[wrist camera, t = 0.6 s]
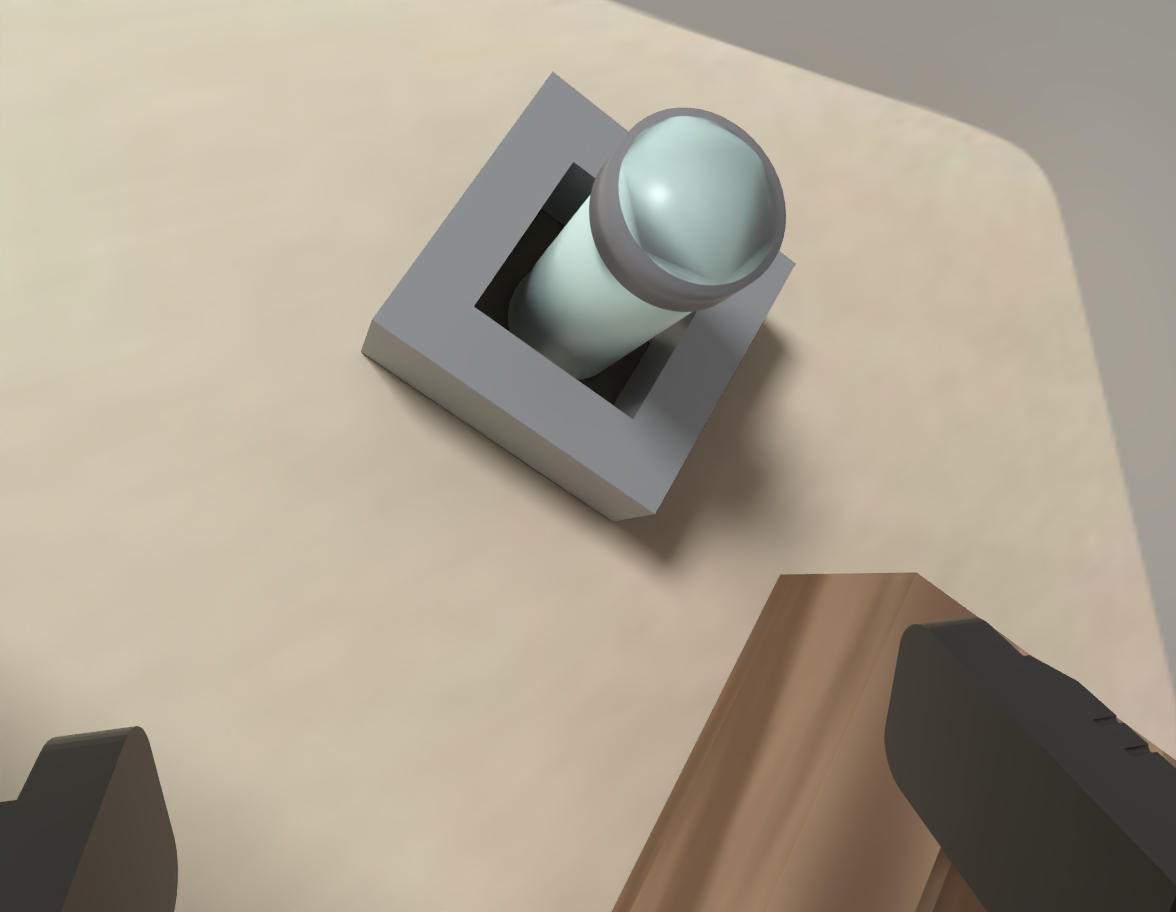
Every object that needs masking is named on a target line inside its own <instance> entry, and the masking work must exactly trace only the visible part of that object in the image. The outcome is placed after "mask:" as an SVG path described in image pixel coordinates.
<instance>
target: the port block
mask: <svg viewBox="0 0 1176 912" xmlns="http://www.w3.org/2000/svg"><path fill="white" fill-rule="evenodd" d="M964 617H977V616H976V615H974V614H973V613H972V612H970V611H969V610H967V609H966V608H965V607H963V606H962V605H961V604H959V603H958V602H956V601H955V600H954V599H952V598H951V597H949V596H948V595H947V594H945V593H944V592H943V591H941V590H940V589H938V588H937V587H936V586H934V585H933V584H932V583H930V582H929V581H927V580H926V579H925V578H923V577H922V576H920V575H919V574H918V573H859V574H793V575H780V577H779V579H778V581H777V583H776V585H775V587H774V589H773V591H772V593H771V595H770V597H769V599H768V601H767V603H766V605H765V607H764V609H763V611H762V613H761V615H760V617H759V619H758V621H757V623H756V625H755V627H754V629H753V631H752V633H751V635H750V637H749V639H748V641H747V643H746V645H745V647H744V649H743V651H742V653H741V655H740V657H739V659H738V661H737V663H736V665H735V667H734V669H733V671H732V673H731V675H730V677H729V679H728V681H727V683H726V685H725V687H724V689H723V691H722V693H721V695H720V697H719V699H718V701H717V703H716V705H715V707H714V709H713V711H712V713H711V715H710V717H709V719H708V721H707V723H706V725H705V727H704V729H703V731H702V733H701V735H700V737H699V739H698V741H697V743H696V745H695V747H694V749H693V751H692V753H691V755H690V757H689V759H688V761H687V763H686V765H685V767H684V769H683V771H682V773H681V775H680V777H679V779H678V781H677V783H676V785H675V787H674V789H673V791H672V793H671V795H670V797H669V799H668V801H667V803H666V805H665V807H664V809H663V811H662V813H661V815H660V817H659V819H658V821H657V823H656V825H655V827H654V829H653V831H652V833H651V835H650V837H649V839H648V841H647V843H646V845H645V847H644V849H643V851H642V853H641V855H640V857H639V859H638V861H637V863H636V865H635V867H634V869H633V871H632V873H631V875H630V877H629V879H628V881H627V883H626V885H625V887H624V889H623V891H622V893H621V895H620V897H619V899H618V901H617V903H616V905H615V907H614V909H613V911H612V912H987V911H986V910H985V908H984V907H983V905H982V904H981V903H980V901H979V900H978V898H977V897H976V896H975V894H974V893H973V891H972V890H971V889H970V887H969V886H968V884H967V883H966V882H965V880H964V879H963V877H962V876H961V875H960V873H959V872H958V870H957V869H956V868H955V866H954V865H953V863H952V862H951V860H950V859H949V858H948V856H947V855H946V853H945V852H944V851H943V849H942V848H941V846H940V845H939V844H938V842H937V841H936V839H935V838H934V837H933V835H932V834H931V832H930V831H929V830H928V828H927V827H926V825H925V824H924V823H923V821H922V820H921V818H920V817H919V816H918V814H917V813H916V811H915V810H914V809H913V807H912V806H911V804H910V803H909V802H908V800H907V799H906V797H905V796H904V795H903V793H902V792H901V790H900V789H899V787H898V786H897V784H896V782H895V780H894V778H893V775H892V773H891V770H890V767H889V764H888V761H887V757H886V751H885V743H884V732H885V725H886V719H887V714H888V708H889V702H890V697H891V691H892V685H893V679H894V674H895V668H896V662H897V657H898V651H899V645H900V641H901V637H902V635H903V633H904V631H905V630H906V628H908V627H909V626H910V625H913V624H920V623H927V622H935V621H942V620H949V619H957V618H964ZM997 632H998V631H997ZM998 633H999V632H998ZM999 634H1000V635H1001V636H1002V637H1004V638H1005V639H1006V640H1007V641H1008V642H1009V643H1010V644H1011V645H1012V646H1013V647H1014V648H1015V649H1016V650H1018V651H1019V652H1020V653H1021V654H1022V655H1023V656H1026V655H1030V654H1028V653H1027V652H1025V651H1024V650H1023V649H1021V648H1020V647H1019V646H1017V645H1016V644H1014V643H1013V642H1012V641H1010V640H1009V639H1007V638H1006V637H1005V636H1003V635H1002V634H1001V633H999ZM1030 656H1031V655H1030ZM1116 719H1117V721H1118V723H1123V722H1122V721H1121V720H1119V719H1118V718H1117V717H1116ZM1131 729H1132V728H1131ZM1132 730H1133V729H1132ZM1133 731H1134V732H1135V733H1137V732H1136V731H1135V730H1133ZM1137 734H1138V735H1139V736H1140V737H1141V738H1142V739H1143V740H1144V741H1146V742H1147V743H1148V744H1149V745H1148V747H1149V750H1150V751H1151V752H1158V753H1159V754H1160V755H1161V756H1162V757H1164V758H1165V759H1166V760H1167V761H1168V762H1169V763H1170V764H1171V765H1173V766H1174V767H1175V768H1176V760H1175V759H1173V758H1172V757H1170V756H1169V755H1168V754H1166V753H1165V752H1164V751H1162V750H1161V749H1159V748H1158V747H1157V746H1155V745H1154V744H1152V743H1151V742H1150V741H1148V740H1147V739H1146V738H1144V737H1143V736H1141V735H1140V734H1139V733H1137Z"/></svg>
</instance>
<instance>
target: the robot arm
mask: <svg viewBox="0 0 1176 912" xmlns="http://www.w3.org/2000/svg"><path fill="white" fill-rule="evenodd" d="M884 743H885V751H886V757H887V761H888V764H889V767H890V770H891V773H892V775H893V778H894V780H895V782H896V784H897V786H898V787H899V789H900V790H901V792H902V793H903V795H904V796H905V797H906V799H907V800H908V802H909V803H910V804H911V806H912V807H913V809H914V810H915V811H916V813H917V814H918V816H919V817H920V818H921V820H922V821H923V823H924V824H925V825H926V827H927V828H928V830H929V831H930V832H931V834H932V835H933V837H934V838H935V839H936V841H937V842H938V844H939V845H940V846H941V848H942V849H943V851H944V852H945V853H946V855H947V856H948V858H949V859H950V860H951V862H952V863H953V865H954V866H955V868H956V869H957V870H958V872H959V873H960V875H961V876H962V877H963V879H964V880H965V882H966V883H967V884H968V886H969V887H970V889H971V890H972V891H973V893H974V894H975V896H976V897H977V898H978V900H979V901H980V903H981V904H982V905H983V907H984V908H985V910H986V911H987V912H1176V768H1175V767H1174V766H1173V765H1171V764H1170V763H1169V762H1168V761H1167V760H1166V759H1165V758H1164V757H1162V756H1161V755H1160V754H1159V753H1158V752H1151V751H1150V750H1149V747H1148V745H1149V744H1148V743H1147V742H1146V741H1144V740H1143V739H1142V738H1141V737H1140V736H1139V735H1138V734H1137V733H1135V732H1134V731H1133V730H1132V729H1131V728H1130V727H1129V726H1128V725H1126V724H1125V723H1118V721H1117V719H1116V715H1115V714H1114V713H1113V712H1112V711H1111V710H1110V709H1108V708H1107V707H1106V706H1105V705H1104V704H1103V703H1102V702H1101V701H1099V700H1098V699H1097V698H1096V697H1095V696H1094V695H1093V694H1092V693H1090V692H1089V691H1088V690H1087V689H1086V688H1085V687H1084V686H1083V685H1081V684H1080V683H1079V682H1078V681H1076V680H1074V679H1073V678H1071V677H1069V676H1067V675H1065V674H1063V673H1062V672H1060V671H1058V670H1056V669H1054V668H1052V667H1050V666H1049V665H1047V664H1045V663H1043V662H1041V661H1039V660H1038V659H1036V658H1034V657H1032V656H1030V655H1026V656H1023V655H1022V654H1021V653H1020V652H1019V651H1018V650H1016V649H1015V648H1014V647H1013V646H1012V645H1011V644H1010V643H1009V642H1008V641H1007V640H1006V639H1005V638H1004V637H1002V636H1001V635H1000V634H999V633H998V632H997V631H996V630H995V629H994V628H993V627H992V626H991V625H989V624H988V623H987V622H986V621H984V620H982V619H980V618H978V617H964V618H957V619H949V620H942V621H935V622H927V623H920V624H913V625H910V626H909V627H908V628H906V630H905V631H904V633H903V635H902V637H901V641H900V645H899V651H898V657H897V662H896V668H895V674H894V679H893V685H892V691H891V697H890V702H889V708H888V714H887V719H886V725H885V732H884ZM177 883H178V861H177V851H176V844H175V839H174V835H173V831H172V827H171V824H170V820H169V816H168V812H167V808H166V804H165V801H164V797H163V793H162V789H161V785H160V781H159V778H158V774H157V770H156V766H155V762H154V758H153V754H152V751H151V747H150V743H149V740H148V737H147V735H146V733H145V732H144V730H143V729H142V728H141V727H138V726H135V727H128V728H120V729H113V730H105V731H98V732H90V733H83V734H75V735H68V736H60V737H55V738H52V739H50V740H49V741H48V742H47V743H46V744H45V745H44V747H43V749H42V750H41V752H40V754H39V756H38V758H37V760H36V762H35V764H34V766H33V768H32V770H31V773H30V775H29V777H28V779H27V781H26V783H25V785H24V787H23V789H22V791H21V793H20V795H19V797H18V799H17V800H13V801H6V802H0V912H174V909H175V903H176V896H177Z"/></svg>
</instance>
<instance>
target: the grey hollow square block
mask: <svg viewBox="0 0 1176 912" xmlns="http://www.w3.org/2000/svg"><path fill="white" fill-rule="evenodd" d="M627 134H628V131H627V130H626V129H624V128H623V127H622V126H621V125H619V124H618V123H617V122H616V121H614V120H613V119H612V118H611V117H609V116H608V115H607V114H606V113H604V112H603V111H602V110H600V109H599V108H598V107H597V106H595V105H594V104H593V103H592V102H590V101H589V100H588V99H587V98H585V97H584V96H583V95H581V94H580V93H579V92H578V91H576V90H575V89H574V88H573V87H571V86H570V85H569V84H568V83H566V82H565V81H564V80H563V79H561V78H560V77H559V76H557V75H556V74H555V73H554V72H552V73H551V75H550V76H549V77H548V79H547V80H546V82H545V83H544V84H543V86H542V87H541V88H540V90H539V91H538V93H537V94H536V95H535V97H534V98H533V99H532V101H531V102H530V104H529V105H528V106H527V108H526V109H525V110H524V112H523V113H522V115H521V116H520V117H519V119H518V120H517V121H516V123H515V124H514V126H513V127H512V128H511V130H510V131H509V132H508V134H507V135H506V137H505V138H504V139H503V141H502V142H501V143H500V145H499V146H498V148H497V149H496V150H495V152H494V153H493V154H492V156H491V157H490V159H489V160H488V161H487V163H486V164H485V165H484V167H483V168H482V169H481V171H480V172H479V174H478V175H477V176H476V178H475V179H474V180H473V182H472V183H471V185H470V186H469V187H468V189H467V190H466V191H465V193H464V194H463V196H462V197H461V198H460V200H459V201H458V202H457V204H456V205H455V207H454V208H453V209H452V211H451V212H450V213H449V215H448V216H447V218H446V219H445V220H444V222H443V223H442V224H441V226H440V227H439V229H438V230H437V231H436V233H435V234H434V235H433V237H432V238H431V240H430V241H429V242H428V244H427V245H426V246H425V248H424V249H423V251H422V252H421V253H420V255H419V256H418V257H417V259H416V260H415V262H414V263H413V264H412V266H411V267H410V268H409V270H408V271H407V273H406V274H405V275H404V277H403V278H402V279H401V281H400V282H399V284H398V285H397V286H396V288H395V289H394V290H393V292H392V293H391V295H390V296H389V297H388V299H387V300H386V301H385V303H384V304H383V306H382V307H381V308H380V310H379V311H378V312H377V314H376V315H375V317H374V318H373V319H372V322H371V324H370V327H369V330H368V333H367V336H366V339H365V342H364V344H363V347H362V350H361V352H362V353H363V354H365V355H366V356H368V357H369V358H371V359H372V360H374V361H375V362H377V363H378V364H380V365H381V366H383V367H384V368H386V369H387V370H389V371H390V372H391V373H393V374H394V375H396V376H397V377H399V378H400V379H402V380H403V381H405V382H406V383H408V384H409V385H411V386H412V387H414V388H415V389H417V390H418V391H420V392H421V393H423V394H424V395H426V396H427V397H428V398H430V399H431V400H433V401H434V402H436V403H437V404H439V405H440V406H442V407H443V408H445V409H446V410H448V411H449V412H451V413H452V414H454V415H455V416H457V417H458V418H460V419H461V420H463V421H464V422H465V423H467V424H468V425H470V426H471V427H473V428H474V429H476V430H477V431H479V432H480V433H482V434H483V435H485V436H486V437H488V438H489V439H491V440H492V441H494V442H495V443H497V444H498V445H500V446H501V447H502V448H504V449H505V450H507V451H508V452H510V453H511V454H513V455H514V456H516V457H517V458H519V459H520V460H522V461H523V462H525V463H526V464H528V465H529V466H531V467H532V468H534V469H535V470H537V471H538V472H539V473H541V474H542V475H544V476H545V477H547V478H548V479H550V480H551V481H553V482H554V483H556V484H557V485H559V486H560V487H562V488H563V489H565V490H566V491H568V492H569V493H571V494H572V495H574V496H575V497H577V498H578V499H579V500H581V501H582V502H584V503H585V504H587V505H588V506H590V507H591V508H593V509H594V510H596V511H597V512H599V513H600V514H602V515H603V516H605V517H606V518H608V519H609V520H611V521H612V522H614V521H620V520H625V519H631V518H636V517H642V516H647V515H653V514H655V513H656V512H657V510H658V508H659V506H660V504H661V503H662V501H663V499H664V497H665V496H666V494H667V492H668V490H669V488H670V487H671V485H672V483H673V481H674V479H675V478H676V476H677V474H678V472H679V471H680V469H681V467H682V465H683V463H684V462H685V460H686V458H687V456H688V455H689V453H690V451H691V449H692V447H693V446H694V444H695V442H696V440H697V438H698V437H699V435H700V433H701V431H702V430H703V428H704V426H705V424H706V422H707V421H708V419H709V417H710V415H711V414H712V412H713V410H714V408H715V406H716V405H717V403H718V401H719V399H720V397H721V396H722V394H723V392H724V390H725V389H726V387H727V385H728V383H729V381H730V380H731V378H732V376H733V374H734V373H735V371H736V369H737V367H738V365H739V364H740V362H741V360H742V358H743V356H744V355H745V353H746V351H747V349H748V348H749V346H750V344H751V342H752V340H753V339H754V337H755V335H756V333H757V332H758V330H759V328H760V326H761V324H762V323H763V321H764V319H765V317H766V315H767V314H768V312H769V310H770V308H771V307H772V305H773V303H774V301H775V299H776V298H777V296H778V294H779V292H780V291H781V289H782V287H783V285H784V283H785V282H786V280H787V278H788V276H789V274H790V273H791V271H792V269H793V267H794V266H795V263H794V262H793V261H791V260H790V259H789V258H788V257H786V256H785V255H784V254H783V253H781V252H780V251H779V252H778V254H777V256H776V258H775V259H774V261H773V262H772V264H771V265H770V267H769V268H768V269H767V270H766V271H765V272H764V274H763V275H762V276H760V277H759V278H758V279H757V280H755V281H754V282H753V283H751V284H749V285H748V286H746V287H745V288H743V289H742V290H740V291H738V292H737V293H735V294H734V295H732V296H731V297H729V298H727V299H726V300H724V301H723V302H721V303H719V304H717V305H715V306H713V307H710V308H708V309H704V310H700V311H694V312H691V313H690V314H688V315H687V316H685V317H684V318H682V319H681V320H679V321H677V322H676V323H674V324H673V325H671V326H670V327H668V328H667V329H665V330H664V331H662V332H661V333H659V334H658V335H656V336H655V337H654V338H653V340H652V342H651V343H650V345H649V346H648V348H647V350H646V351H645V353H644V355H643V356H642V358H641V360H640V361H639V363H638V365H637V366H636V368H635V370H634V371H633V373H632V375H631V376H630V378H629V380H628V381H627V383H626V385H625V386H624V388H623V390H622V391H621V393H620V395H619V396H618V398H617V400H616V401H615V403H614V405H612V404H611V403H609V402H608V401H606V400H605V399H604V398H602V397H601V396H599V395H598V394H596V393H595V392H594V391H592V390H591V389H589V388H588V387H587V386H585V385H584V384H582V383H581V382H580V381H578V380H577V379H575V378H574V377H572V376H571V375H570V374H568V373H567V372H565V371H564V370H563V369H561V368H560V367H558V366H557V365H556V364H554V363H553V362H551V361H550V360H549V359H547V358H546V357H544V356H543V355H541V354H540V353H539V352H537V351H536V350H534V349H533V348H532V347H530V346H529V345H527V344H526V343H525V342H523V341H522V340H520V339H519V338H517V337H516V336H515V335H513V334H512V333H510V332H509V331H508V330H506V329H505V328H503V327H502V326H501V325H499V324H498V323H496V322H495V321H494V320H492V319H491V318H489V317H488V316H486V315H485V314H484V313H482V312H481V311H479V310H478V309H477V308H475V307H474V305H475V304H476V302H477V301H478V299H479V298H480V297H481V295H482V294H483V292H484V291H485V289H486V288H487V286H488V285H489V283H490V282H491V281H492V279H493V278H494V276H495V275H496V273H497V272H498V270H499V269H500V267H501V266H502V265H503V263H504V262H505V260H506V259H507V257H508V256H509V254H510V253H511V252H512V250H513V249H514V247H515V246H516V244H517V243H518V241H519V240H520V238H521V237H522V236H523V234H524V233H525V231H526V230H527V228H528V227H529V225H530V224H531V222H532V221H533V220H534V218H535V217H536V215H537V214H538V212H539V211H540V209H543V210H544V211H545V212H547V213H548V214H549V215H551V216H552V217H553V218H555V219H556V220H557V221H559V222H560V223H561V224H563V225H564V226H566V225H567V223H568V222H569V221H570V220H571V218H572V217H573V216H574V215H575V213H576V212H577V211H578V210H579V208H580V207H581V206H582V205H583V203H584V202H585V201H586V200H587V198H588V197H589V196H590V195H591V191H592V186H593V184H594V181H595V179H596V176H597V174H598V173H599V171H600V169H601V167H602V166H603V165H604V163H605V162H606V161H607V159H608V158H609V157H610V155H611V154H612V153H613V152H614V150H615V149H616V148H617V146H618V145H619V144H620V142H621V141H622V140H623V139H624V137H625V136H626V135H627Z"/></svg>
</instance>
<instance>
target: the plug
mask: <svg viewBox="0 0 1176 912" xmlns="http://www.w3.org/2000/svg"><path fill="white" fill-rule="evenodd" d="M785 224H786V209H785V200H784V195H783V191H782V187H781V184H780V181H779V178H778V176H777V174H776V171H775V169H774V167H773V165H772V164H771V162H770V160H769V158H768V157H767V156H766V154H765V153H764V151H763V150H762V148H761V147H760V146H759V145H758V144H757V143H756V142H755V140H754V139H753V138H752V137H750V136H749V135H748V134H747V133H746V132H745V131H744V130H743V129H741V128H740V127H738V126H737V125H736V124H734V123H733V122H731V121H729V120H727V119H726V118H724V117H722V116H719V115H717V114H714V113H712V112H708V111H705V110H701V109H695V108H672V109H666V110H663V111H659V112H656V113H654V114H652V115H650V116H648V117H646V118H645V119H643V120H642V121H640V122H639V123H637V124H636V125H635V126H634V127H633V128H632V129H631V130H630V131H629V132H628V134H627V135H626V136H625V137H624V139H623V140H622V141H621V142H620V144H619V145H618V146H617V148H616V149H615V150H614V152H613V153H612V154H611V155H610V157H609V158H608V159H607V161H606V162H605V163H604V165H603V166H602V167H601V169H600V171H599V173H598V174H597V176H596V179H595V181H594V184H593V186H592V191H591V195H590V196H589V197H588V198H587V200H586V201H585V202H584V203H583V205H582V206H581V207H580V208H579V210H578V211H577V212H576V213H575V215H574V216H573V217H572V218H571V220H570V221H569V222H568V223H567V225H566V226H565V227H564V228H563V230H562V231H561V232H560V233H559V235H558V236H557V237H556V238H555V240H554V241H553V242H552V243H551V245H550V246H549V247H548V248H547V250H546V251H545V252H544V253H543V255H542V256H541V257H540V258H539V260H538V261H537V262H536V264H535V265H534V266H533V267H532V269H531V270H530V271H529V272H528V274H527V275H526V276H525V277H524V279H523V280H522V281H521V282H520V284H519V285H518V286H517V288H516V290H515V291H514V293H513V296H512V298H511V301H510V305H509V312H508V323H509V330H510V333H512V334H513V335H515V336H516V337H517V338H519V339H520V340H522V341H523V342H525V343H526V344H527V345H529V346H530V347H532V348H533V349H534V350H536V351H537V352H539V353H540V354H541V355H543V356H544V357H546V358H547V359H549V360H550V361H551V362H553V363H554V364H556V365H557V366H558V367H560V368H561V369H563V370H564V371H565V372H567V373H568V374H570V375H571V376H572V377H574V378H575V379H577V380H578V381H580V380H584V379H588V378H590V377H593V376H595V375H597V374H598V373H600V372H602V371H603V370H605V369H606V368H608V367H609V366H611V365H612V364H614V363H615V362H617V361H618V360H620V359H621V358H623V357H624V356H626V355H627V354H629V353H630V352H632V351H633V350H635V349H636V348H638V347H640V346H641V345H643V344H644V343H646V342H647V341H649V340H650V339H652V338H653V337H655V336H656V335H658V334H659V333H661V332H662V331H664V330H665V329H667V328H668V327H670V326H671V325H673V324H674V323H676V322H677V321H679V320H681V319H682V318H684V317H685V316H687V315H688V314H690V313H691V312H694V311H700V310H704V309H708V308H710V307H713V306H715V305H717V304H719V303H721V302H723V301H724V300H726V299H727V298H729V297H731V296H732V295H734V294H735V293H737V292H738V291H740V290H742V289H743V288H745V287H746V286H748V285H749V284H751V283H753V282H754V281H755V280H757V279H758V278H759V277H760V276H762V275H763V274H764V272H765V271H766V270H767V269H768V268H769V267H770V265H771V264H772V262H773V261H774V259H775V258H776V256H777V254H778V252H779V250H780V247H781V244H782V241H783V237H784V232H785Z"/></svg>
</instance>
